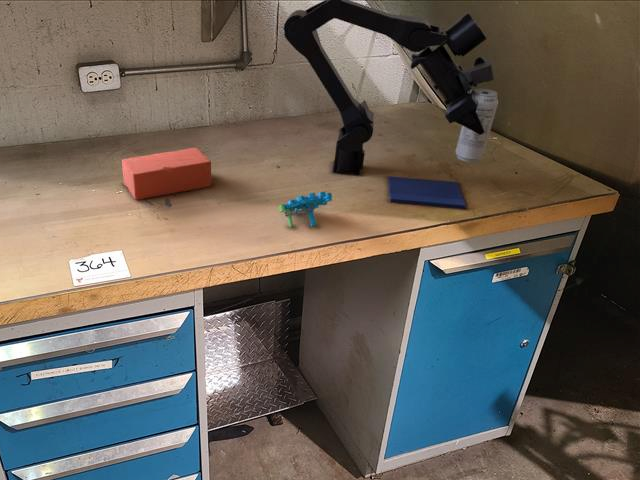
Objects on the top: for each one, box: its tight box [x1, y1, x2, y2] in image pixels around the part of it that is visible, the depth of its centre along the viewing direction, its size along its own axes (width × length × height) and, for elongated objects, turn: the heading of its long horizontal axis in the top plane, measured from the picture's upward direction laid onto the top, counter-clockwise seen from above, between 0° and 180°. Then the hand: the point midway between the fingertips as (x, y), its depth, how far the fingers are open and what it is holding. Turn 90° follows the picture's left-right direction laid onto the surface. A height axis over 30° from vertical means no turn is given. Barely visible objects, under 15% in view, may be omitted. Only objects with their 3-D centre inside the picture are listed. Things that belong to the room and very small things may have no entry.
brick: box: [121, 147, 212, 201], centre depth 135 cm, size 18×9×6 cm, turn 116°
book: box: [388, 175, 467, 210], centre depth 136 cm, size 16×13×1 cm
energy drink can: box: [455, 87, 499, 163], centre depth 133 cm, size 6×6×15 cm
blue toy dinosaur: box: [279, 191, 333, 228], centre depth 122 cm, size 11×6×10 cm
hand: (482, 128), depth 133 cm, fingers closed on energy drink can, 6 cm apart
